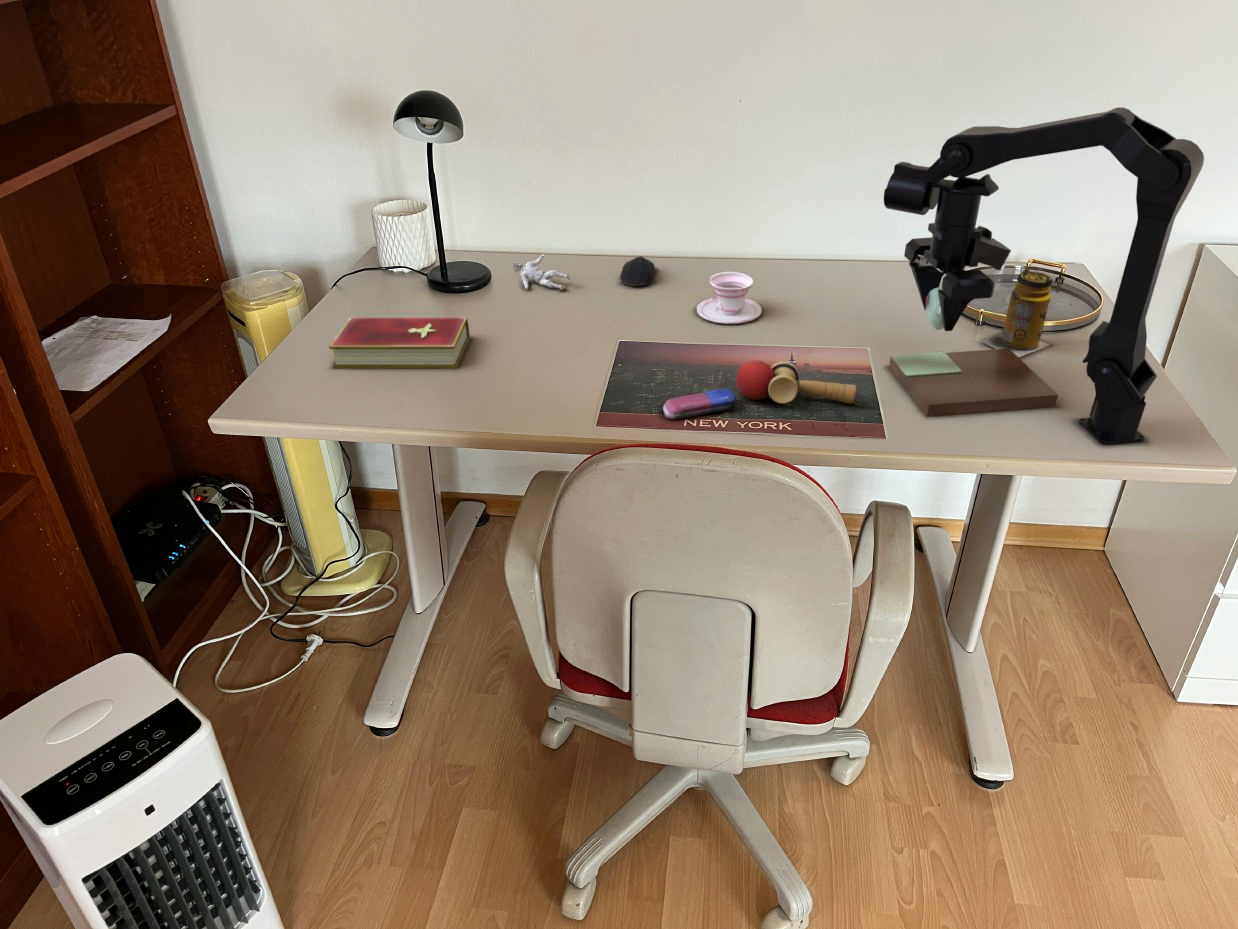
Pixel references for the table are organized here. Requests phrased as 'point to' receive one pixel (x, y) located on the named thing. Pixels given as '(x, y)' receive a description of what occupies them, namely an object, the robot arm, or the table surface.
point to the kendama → (786, 383)
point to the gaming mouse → (637, 272)
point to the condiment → (1025, 315)
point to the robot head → (934, 309)
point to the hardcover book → (400, 343)
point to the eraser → (699, 404)
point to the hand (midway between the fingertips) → (938, 320)
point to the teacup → (729, 300)
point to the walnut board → (971, 382)
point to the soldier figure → (538, 274)
